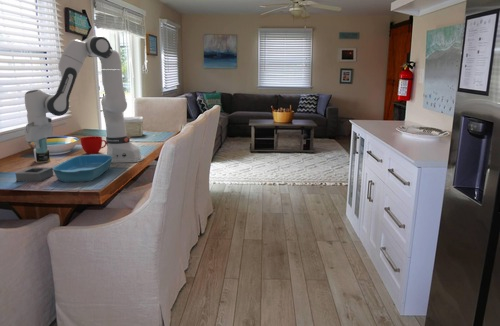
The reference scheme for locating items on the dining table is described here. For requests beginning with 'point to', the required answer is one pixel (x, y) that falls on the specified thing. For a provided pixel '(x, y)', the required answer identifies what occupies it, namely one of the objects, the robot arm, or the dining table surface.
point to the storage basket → (134, 126)
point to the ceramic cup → (92, 144)
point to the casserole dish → (82, 168)
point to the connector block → (42, 146)
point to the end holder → (34, 174)
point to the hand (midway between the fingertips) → (41, 147)
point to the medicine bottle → (41, 156)
